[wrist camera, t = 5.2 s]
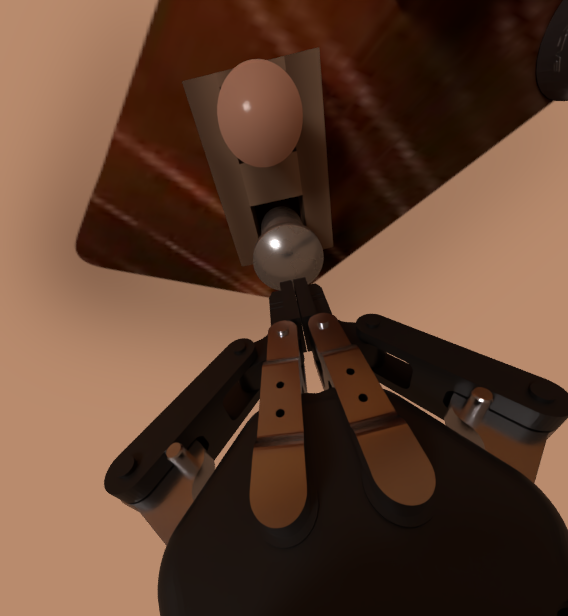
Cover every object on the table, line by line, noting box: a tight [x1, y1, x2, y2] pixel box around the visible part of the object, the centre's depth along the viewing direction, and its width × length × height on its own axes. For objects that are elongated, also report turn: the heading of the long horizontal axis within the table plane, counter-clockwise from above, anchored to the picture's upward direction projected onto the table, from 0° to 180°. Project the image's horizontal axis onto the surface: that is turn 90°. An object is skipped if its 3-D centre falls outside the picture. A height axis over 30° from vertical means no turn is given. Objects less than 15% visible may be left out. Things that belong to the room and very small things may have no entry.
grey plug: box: [253, 206, 324, 291], centre depth 21 cm, size 5×5×8 cm
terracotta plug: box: [217, 59, 303, 167], centre depth 18 cm, size 5×5×8 cm
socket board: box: [182, 47, 333, 266], centre depth 24 cm, size 10×15×5 cm, turn 11°
